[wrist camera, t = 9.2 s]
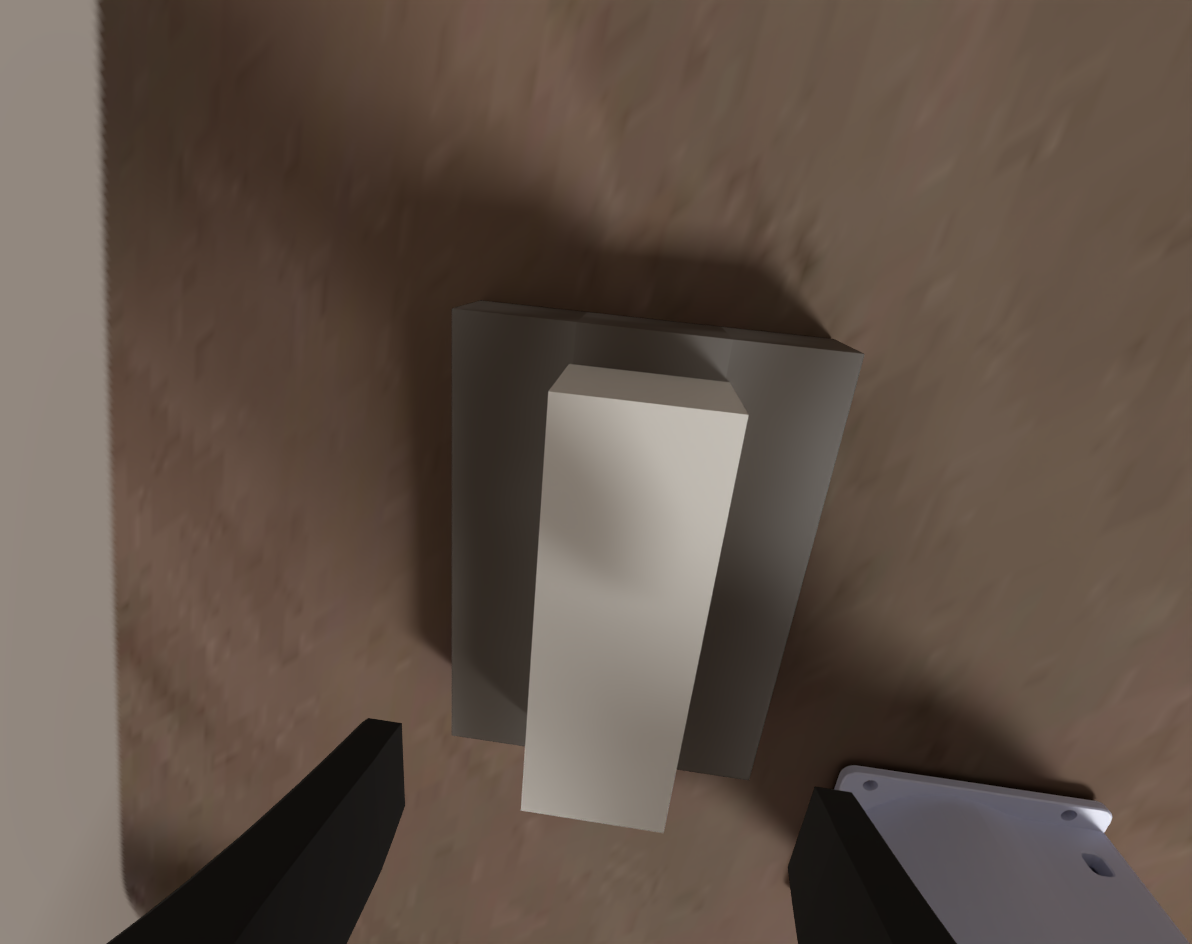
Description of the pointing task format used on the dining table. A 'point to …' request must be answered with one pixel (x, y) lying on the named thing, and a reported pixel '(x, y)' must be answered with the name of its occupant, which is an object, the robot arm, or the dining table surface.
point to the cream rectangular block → (624, 586)
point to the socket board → (753, 531)
